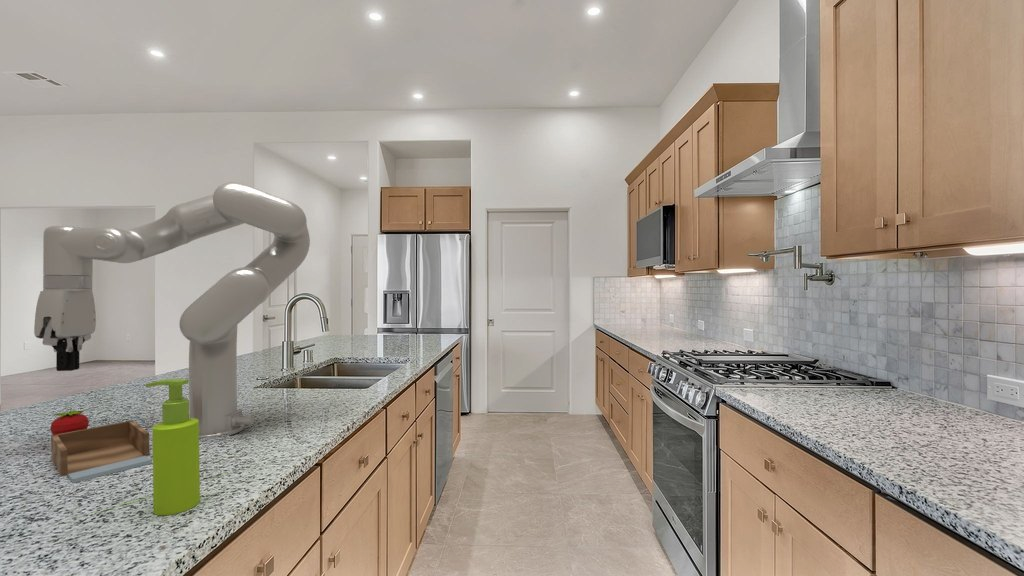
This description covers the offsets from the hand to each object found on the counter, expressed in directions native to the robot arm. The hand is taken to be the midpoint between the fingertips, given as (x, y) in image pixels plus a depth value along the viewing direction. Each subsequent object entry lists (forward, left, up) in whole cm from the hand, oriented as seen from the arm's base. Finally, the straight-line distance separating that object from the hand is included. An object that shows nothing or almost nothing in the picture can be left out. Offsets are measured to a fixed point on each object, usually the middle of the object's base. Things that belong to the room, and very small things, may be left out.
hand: (67, 369), depth 96 cm
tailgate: (-17, +13, -17) cm, 27 cm away
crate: (-12, +7, -17) cm, 22 cm away
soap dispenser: (-39, +29, -18) cm, 52 cm away
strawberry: (0, -1, -18) cm, 18 cm away
